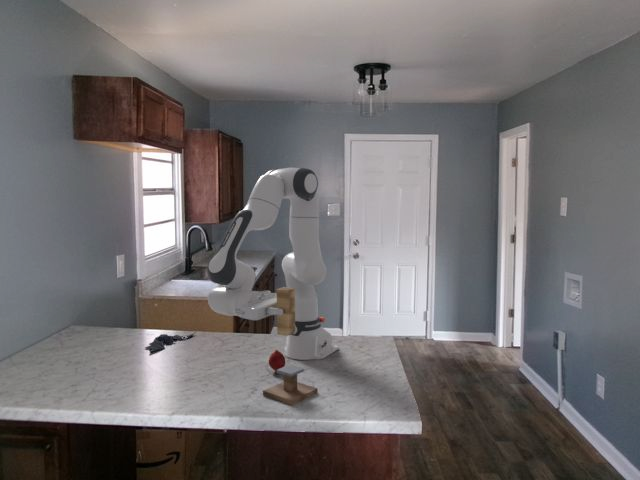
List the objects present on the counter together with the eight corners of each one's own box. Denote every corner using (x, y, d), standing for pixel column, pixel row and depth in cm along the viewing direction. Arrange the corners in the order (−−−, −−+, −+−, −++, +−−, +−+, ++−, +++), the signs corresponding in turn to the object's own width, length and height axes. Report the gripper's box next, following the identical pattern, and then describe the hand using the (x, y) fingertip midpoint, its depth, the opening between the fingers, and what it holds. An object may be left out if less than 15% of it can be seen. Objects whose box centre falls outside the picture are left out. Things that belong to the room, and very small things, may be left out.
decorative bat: (178, 323, 233) (197, 327, 229) (178, 332, 233) (197, 337, 230) (130, 342, 206) (150, 347, 202) (129, 352, 206) (150, 357, 202)
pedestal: (289, 383, 173) (288, 360, 173) (317, 392, 166) (317, 368, 165) (263, 395, 164) (262, 370, 163) (292, 405, 157) (291, 379, 156)
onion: (288, 369, 187) (287, 347, 186) (281, 375, 181) (281, 352, 180) (272, 367, 189) (272, 345, 188) (266, 373, 183) (265, 350, 182)
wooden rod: (284, 330, 166) (283, 286, 164) (295, 332, 164) (294, 288, 163) (277, 334, 163) (276, 289, 161) (288, 335, 161) (287, 290, 159)
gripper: (230, 301, 159) (268, 306, 153) (269, 289, 177) (305, 293, 170) (231, 322, 160) (269, 328, 153) (269, 307, 178) (305, 312, 171)
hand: (288, 309), depth 162 cm, fingers closed on wooden rod, 4 cm apart
